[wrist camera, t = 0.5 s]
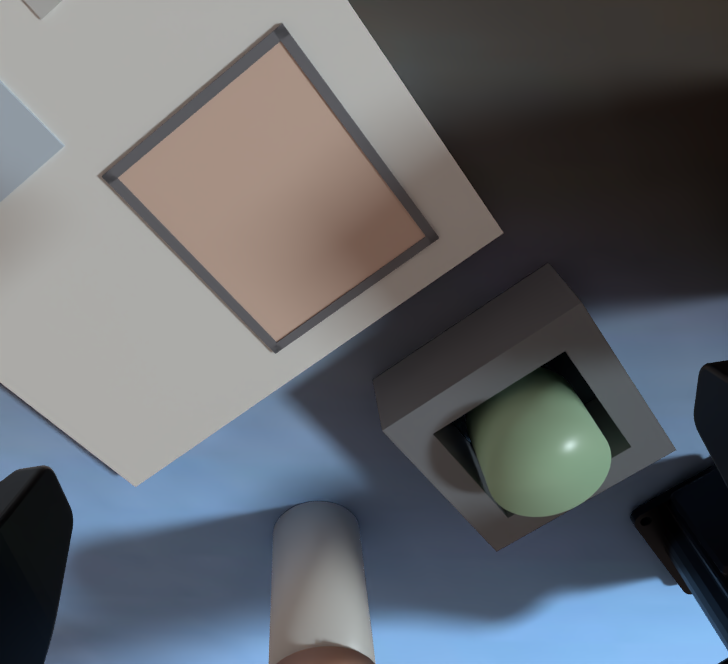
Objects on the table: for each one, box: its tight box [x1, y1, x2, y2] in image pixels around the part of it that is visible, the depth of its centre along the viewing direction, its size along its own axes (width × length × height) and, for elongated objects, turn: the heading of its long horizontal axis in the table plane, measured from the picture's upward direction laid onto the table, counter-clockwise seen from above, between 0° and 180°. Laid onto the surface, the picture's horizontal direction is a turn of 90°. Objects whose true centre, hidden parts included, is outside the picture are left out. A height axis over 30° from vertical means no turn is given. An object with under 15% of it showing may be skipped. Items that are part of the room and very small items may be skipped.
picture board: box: [0, 0, 503, 487], centre depth 19 cm, size 20×16×1 cm
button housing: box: [373, 263, 676, 552], centre depth 24 cm, size 7×7×3 cm
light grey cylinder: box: [269, 501, 375, 664], centre depth 24 cm, size 4×4×8 cm
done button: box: [466, 367, 611, 517], centre depth 23 cm, size 4×4×3 cm
